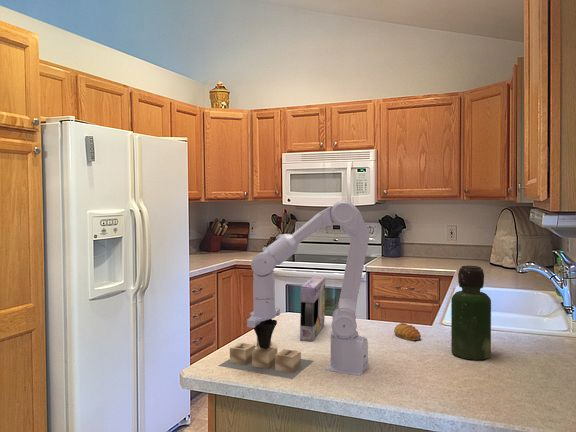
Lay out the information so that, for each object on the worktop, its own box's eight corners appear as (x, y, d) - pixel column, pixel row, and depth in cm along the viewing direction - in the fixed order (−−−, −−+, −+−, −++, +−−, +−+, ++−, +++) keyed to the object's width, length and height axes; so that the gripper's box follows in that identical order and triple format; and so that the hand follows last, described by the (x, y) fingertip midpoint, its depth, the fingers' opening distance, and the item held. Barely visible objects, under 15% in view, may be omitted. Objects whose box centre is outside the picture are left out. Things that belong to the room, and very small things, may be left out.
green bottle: (496, 354, 132) (496, 266, 131) (482, 363, 124) (482, 270, 123) (460, 346, 139) (460, 263, 138) (445, 355, 131) (445, 267, 130)
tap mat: (314, 362, 127) (314, 360, 127) (292, 380, 114) (292, 378, 114) (245, 351, 136) (245, 350, 136) (217, 367, 124) (217, 365, 124)
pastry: (426, 340, 146) (426, 328, 145) (408, 343, 143) (408, 331, 143) (409, 332, 154) (409, 321, 154) (391, 335, 152) (391, 323, 152)
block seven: (255, 359, 129) (254, 344, 128) (245, 364, 124) (245, 349, 124) (239, 356, 131) (239, 342, 131) (229, 362, 126) (229, 347, 126)
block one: (301, 366, 122) (300, 351, 122) (292, 373, 118) (292, 357, 118) (284, 363, 125) (283, 348, 124) (275, 370, 120) (275, 354, 120)
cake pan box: (313, 342, 144) (313, 286, 143) (298, 341, 145) (297, 285, 145) (326, 326, 162) (325, 276, 162) (312, 325, 164) (311, 275, 163)
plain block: (277, 362, 125) (277, 348, 125) (268, 368, 121) (268, 353, 121) (261, 360, 128) (261, 345, 128) (252, 366, 123) (251, 351, 123)
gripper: (264, 291, 132) (264, 338, 132) (236, 301, 119) (237, 353, 119) (286, 293, 129) (286, 341, 129) (260, 304, 116) (261, 357, 116)
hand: (264, 347), depth 124 cm, fingers closed
